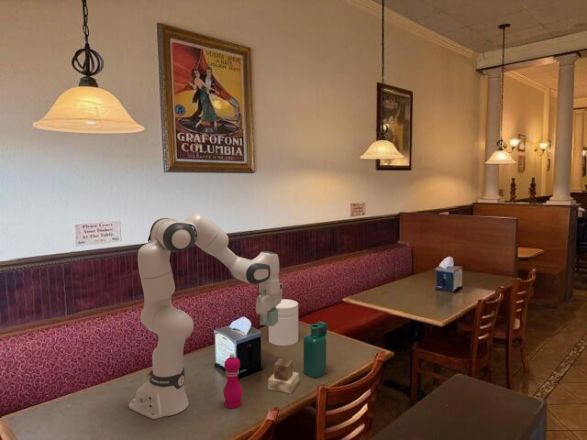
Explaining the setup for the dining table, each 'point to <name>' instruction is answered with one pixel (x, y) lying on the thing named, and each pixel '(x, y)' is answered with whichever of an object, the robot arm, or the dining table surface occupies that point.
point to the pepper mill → (232, 383)
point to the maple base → (283, 383)
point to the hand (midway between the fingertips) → (269, 318)
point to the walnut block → (283, 369)
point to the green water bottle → (315, 350)
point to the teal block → (270, 318)
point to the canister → (285, 324)
